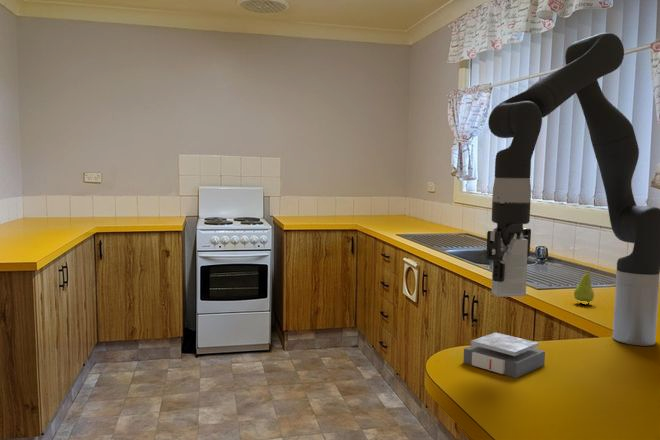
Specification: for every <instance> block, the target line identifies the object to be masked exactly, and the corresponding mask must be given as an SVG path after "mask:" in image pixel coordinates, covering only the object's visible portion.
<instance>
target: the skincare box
mask: <svg viewBox="0 0 660 440" xmlns="http://www.w3.org/2000/svg"><path fill="white" fill-rule="evenodd" d="M494 243H495V242H494ZM501 248H506V246H505V245H504V244H503V239H502V240H501ZM527 248H528V240H527V239H518V238H516V241H515V242H514V243H513V246H512V249H511V252H510V254H508V255H507V257H506V260H505V263H504V264H505V274H504V281H503V282H497V281H494V280H493V262H492V261H491V265H492V267H491V269H492V270H491V294H492V295H495V297H498V298H499V297H504V298H505V297H507V298H508V297H509V298H511V297H514V298H515V297H516V298H519V297H520V298H525V297H527V275H528V274H527V272H528V268H527V267H528V256H527ZM493 252H494V251H493V250H492V253H493ZM501 255H502V253H501Z"/></svg>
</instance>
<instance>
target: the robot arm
mask: <svg viewBox="0 0 660 440" xmlns="http://www.w3.org/2000/svg"><path fill="white" fill-rule="evenodd" d="M624 48H625V47H624V45H623V42H622V40H621V39H620V37H619V36H618V35H617V34H615V33H612V32H602V33H597V34H595V35H592V36H589V37H586V38H583V39H579V40H576V41H575V42H572V43H571V44H569V45H568V47H567V48H566V51H565V57H564V59H565V65H564V66H561V67H560V68H558V69H556V70H554V71H551V72H550V73H548V74H546V75H545V76H543V77H541V78H540V79H539V80H537V81H536V82H535V83H534V84H532V85H531V86H530V87H528V88H527V89H526V90H524V91H522V92H520V93H518V94H515V95H514V96H512V97H509V98H507V99H506V100H504V101H502V102H500V103H499V104H497V105H496V106H495V107H494V108H493V109H492V110H491V112H490V114H489V117H488V120H487V121H488V129H489V131H490V133H492V134H493V136H495V137H497V138H501V139H510V138H512V140H511V143H510V145H509V146H508V147H506V148H505V149H501V150H499V151H498V152H496V155H495V159H494V160H495V161H494V180H493V186H492V197H491V198H492V199H491V222H493V223H494V224H496V225H497V226H496V229H495V230H488V231H487V233H486V260H487V261H491V263H492V262H493V280H494V281H497V282H503V281H504V274H505V264H504V263H505V260H506V257H507V255H508V254H510V252H511V249H512V246H513V243H514V242H515V241H516V238H518V239H527V240H528V248H527V257H530V254H531V253H530V252H531V239H532V230H531V228H525V227H524V225H528V224H529V223H530V220H531V219H530V216H531V198H532V197H531V196H532V195H531V194H532V186H531V175H532V174H531V168H532V158H533V154H534V151H535V148H536V145H537V142H538V139H539V136H540V133H541V129H542V125H543V118H545V117H547V116H549V115H550V114H551V113H553V112H554V111H555V110H556V109H557V108H559V107H560V106H561V105H562V104H564V103H565V102H566V101H567V100H569V99H570V98H571V97H573V96H574V95H575V94H576V97H577V100H578V101H579V104H580V107H581V110H582V114H583V116H584V119H585V123H586V126H587V129H588V130H587V131H588V133H589V137H590V142H591V145H592V149H593V151H594V157H595V159H596V161H597V164H598V168H599V172H600V175H601V176H600V177H601V180H602V184H603V188H604V194H605V197H606V202H607V203H606V204H607V210H608V216H609V223H610V226H611V230H612V233H613V234H614V237H616V238H617V239H618V240H619V241H622V242H624V243H629V244H630V243H631V244H633V247H632V252H631V253H630V254H629V255H626V256H622V257H619V258H618V259H617V262H616V275H615V291H614V292H615V293H614V310H613V322H612V323H613V324H612V326H613V328H612V339H613V340H615V341H616V342H620V343H623V344H628V345H634V346H641V347H643V346H644V347H645V346H646V347H647V346H654V345H655V344H656V341H657V340H656V336H657V326H658V325H657V324H658V310H659V309H658V308H659V307H658V306H659V292H660V291H659V290H660V207H656V206H646V205H645V206H644V205H637V203H636V201H635V197H634V194H633V188H632V180H633V176H634V173H635V171H636V167H637V164H638V162H639V157H640V156H639V155H640V148H639V145H638V140H637V136H636V133H635V129H634V126H633V124H632V123H631V121H630V120H629V119H628V118H627V117H626V115H625V114H624V113H622V112H621V111H620V110H619V109H618V107H616V106H615V105H613V103H611V101H610V100H608V98H607V97H606V96H605V94H604V93H603V91H602V89H601V87H600V84H599V81H598V80H599V79H600V78H602V77H604V76H606V75H609V74H611V73H613V72H615V71H616V70H618V69H619V68H620V67H621V65H622V63H623V61H624V57H625V49H624ZM502 239H503V244H504V245H505V246H506V248H501V240H502ZM494 242H495V243H494ZM493 251H494V252H493ZM501 253H502V255H501Z"/></svg>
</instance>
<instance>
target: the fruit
mask: <svg viewBox="0 0 660 440" xmlns="http://www.w3.org/2000/svg"><path fill="white" fill-rule="evenodd" d="M592 270H593V267H591V268H590V269H589V270H588V272H587V273H584V275H583V276H582V277H581V278H580V279H581V280H580V281H579V283H578V285H576V287H575V290H574V292H573V296H574V299H575V300H576V299H577V300H580V301H587V302H590V301H592V302H593V300H594V297H595V292H594V290H593V288H592V282H591V278H590V274H591V272H592ZM577 300H576V301H577Z"/></svg>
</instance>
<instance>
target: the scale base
mask: <svg viewBox="0 0 660 440" xmlns="http://www.w3.org/2000/svg"><path fill="white" fill-rule="evenodd" d="M545 361H546V351H545V350H542V349H538V348H534V349H531V350H529V351H526V352H524V353H521V354H519V355H516V356H512V355H509V354H505V353H501V352H498V351H494V350H490V349H486V348H483V347H479V346H475V345H471V346H468V347H465V348H463V363H464V364H468V365H471V366H474V367H477V368H481V369H484V370H487V371H490V372H494V373H497V374H501V375H505V376H507V377H510V378H513V379H518V378H520V377H522V376H524V375H526V374H528V373H531V372H532V371H535V370H537V369H538V368H541V367H543V366H545Z"/></svg>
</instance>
